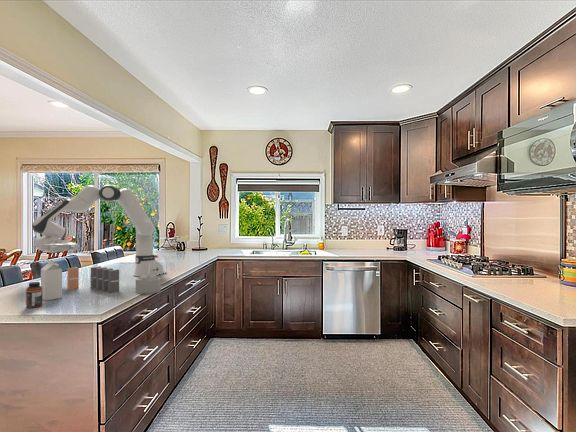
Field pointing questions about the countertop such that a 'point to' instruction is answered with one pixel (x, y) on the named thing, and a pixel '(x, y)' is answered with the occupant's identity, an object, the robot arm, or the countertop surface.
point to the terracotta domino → (72, 278)
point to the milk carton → (51, 281)
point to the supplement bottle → (34, 295)
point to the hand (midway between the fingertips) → (64, 248)
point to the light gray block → (148, 284)
